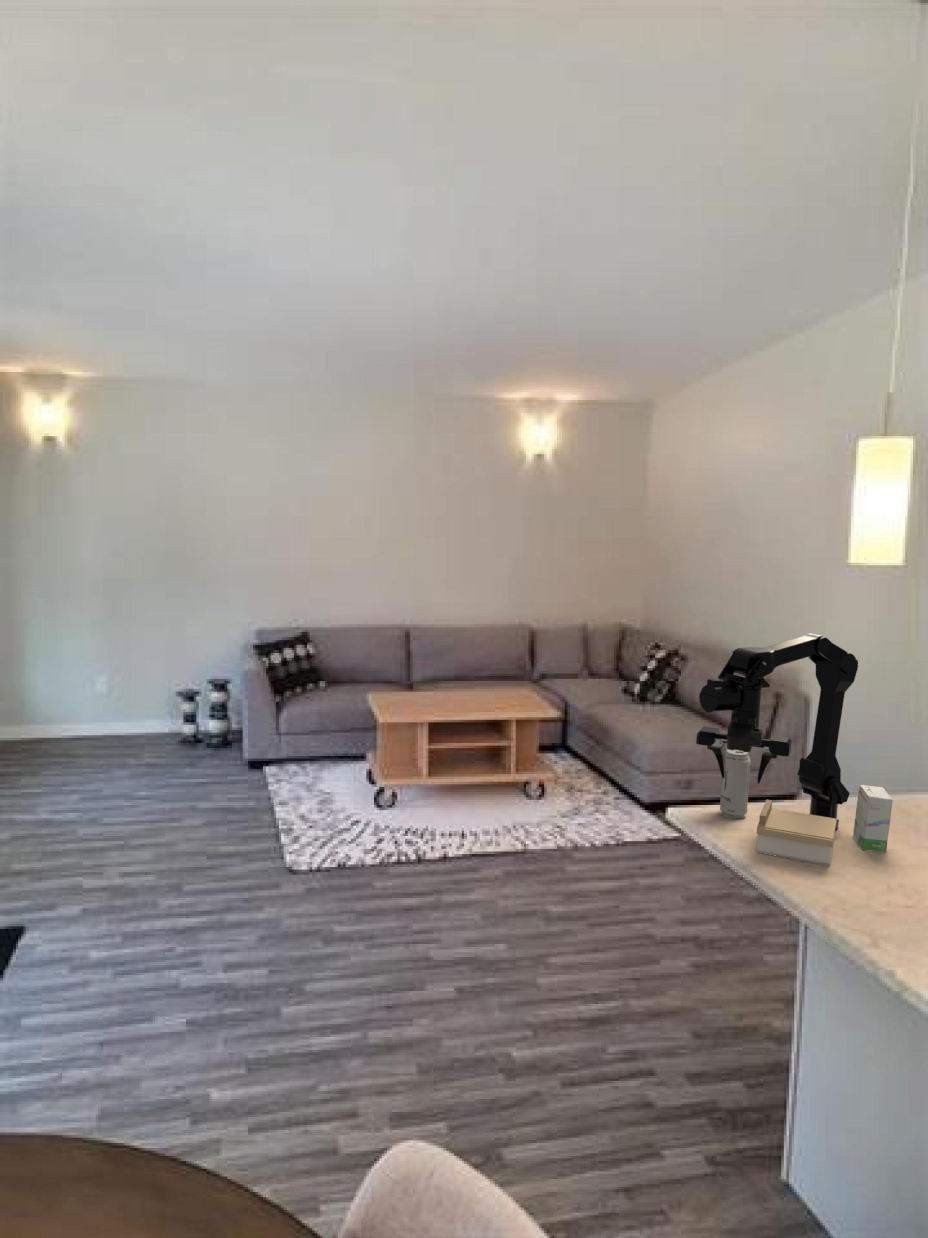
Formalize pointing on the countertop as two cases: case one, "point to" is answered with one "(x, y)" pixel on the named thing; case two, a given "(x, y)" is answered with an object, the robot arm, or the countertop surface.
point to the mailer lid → (796, 826)
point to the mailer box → (795, 850)
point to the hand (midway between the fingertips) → (740, 780)
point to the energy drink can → (735, 784)
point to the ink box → (872, 818)
